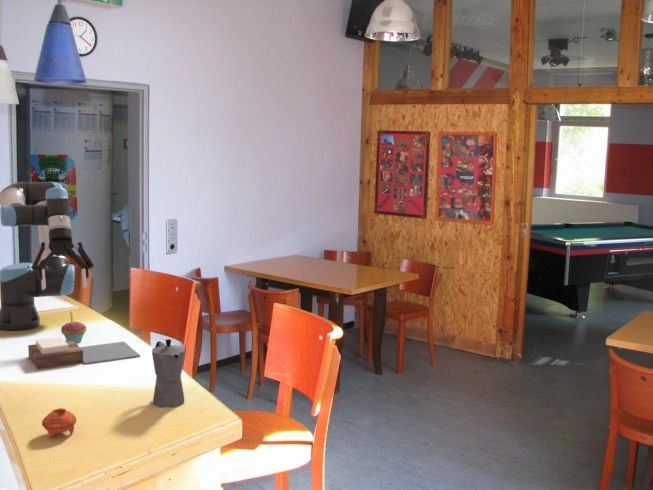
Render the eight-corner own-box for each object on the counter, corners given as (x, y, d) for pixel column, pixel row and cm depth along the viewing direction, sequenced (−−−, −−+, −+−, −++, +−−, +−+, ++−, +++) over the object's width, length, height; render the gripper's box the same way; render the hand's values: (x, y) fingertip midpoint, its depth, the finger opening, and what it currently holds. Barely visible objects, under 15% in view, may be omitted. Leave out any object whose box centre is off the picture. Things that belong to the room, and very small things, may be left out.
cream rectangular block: (35, 346, 236) (35, 340, 235) (61, 342, 240) (61, 337, 240) (42, 354, 227) (42, 348, 227) (68, 350, 232) (68, 344, 231)
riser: (28, 357, 237) (28, 345, 236) (72, 351, 244) (72, 339, 244) (37, 369, 225) (36, 356, 225) (83, 362, 233) (83, 350, 232)
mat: (71, 349, 246) (71, 348, 246) (123, 342, 256) (123, 341, 256) (84, 364, 231) (84, 363, 231) (140, 356, 241) (140, 355, 241)
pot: (81, 425, 183) (79, 403, 181) (71, 445, 176) (70, 422, 174) (49, 424, 183) (47, 401, 180) (38, 443, 176) (36, 420, 173)
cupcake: (81, 345, 251) (80, 312, 249) (57, 345, 251) (56, 311, 249) (90, 338, 259) (89, 306, 258) (66, 338, 260) (65, 305, 258)
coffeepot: (193, 406, 199) (193, 343, 196) (161, 412, 194) (160, 347, 191) (172, 389, 212) (172, 329, 209) (141, 394, 206) (140, 333, 204)
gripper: (24, 226, 245) (28, 286, 239) (98, 226, 258) (104, 283, 253) (19, 233, 251) (24, 292, 245) (92, 234, 264) (98, 289, 258)
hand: (64, 288), depth 249 cm, fingers open, 13 cm apart
